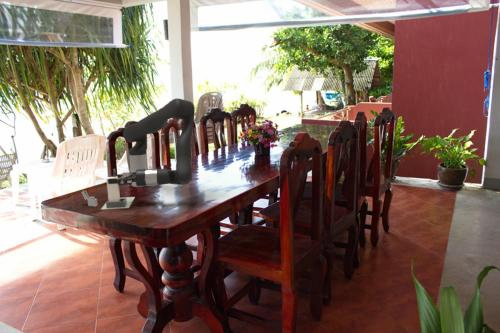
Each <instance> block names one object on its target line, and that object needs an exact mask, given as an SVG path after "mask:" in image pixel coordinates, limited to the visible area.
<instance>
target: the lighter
mask: <svg viewBox="0 0 500 333" xmlns="http://www.w3.org/2000/svg"><path fill="white" fill-rule="evenodd" d="M81 195H82V197H83V198H84V200H85V201H87V206H88V207H98V204H99V203H98V198H95V196H89V193H88V192H87V190H86V189H85V190H82V191H81Z"/></svg>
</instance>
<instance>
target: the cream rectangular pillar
mask: <svg viewBox="0 0 500 333" xmlns="http://www.w3.org/2000/svg"><path fill="white" fill-rule="evenodd" d="M112 169H113V172H112V173H113V175H114V177H112V176H110V177H109V176H108V177H106V187H107V188H106V189H107V197H108V199H107V200H109V202H120V198H121V195H120V185H118V184H108V179H116V178H118V177H116V174H117V172H116V168H112Z"/></svg>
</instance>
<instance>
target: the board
mask: <svg viewBox="0 0 500 333" xmlns="http://www.w3.org/2000/svg"><path fill="white" fill-rule="evenodd" d="M134 200H135V196H127V197H120V202H109V199H107V201H106V202H105V203H104V205H103V206H102V207H101V210H113V209H114V210H117V209H129V208H130V207H131V205H132V203H133V202H134Z"/></svg>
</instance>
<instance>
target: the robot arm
mask: <svg viewBox="0 0 500 333" xmlns="http://www.w3.org/2000/svg"><path fill="white" fill-rule="evenodd" d="M195 113H196V112H195V105H194V103H193V102H192V101H190V100H186V99H182V98H174V99H172V100H170V101H169V102H167V103H166V104H165V105H163V107H161V108H158V110H156V111H153V112H152V113H150V114H148V115H146V116H145V117H144V118H141V119H140V120H139V121H137V122H134V123H131V124H129V125H126V126H125V128H124V129H123V132H122V133H123V134H122V136H123V138H124V140H125V141H127V142H128V143H135V144H134V146H132V147H131V148H130V149H128V158H129V159H128V160H129V171H130V172H122V173H120V174H119V173H116V177H118V178H116V179H108V184H118V185H119V186H122V185H123V186H126V185H131V187H133V188H141V187H142V188H143V187H149V186H153V187H154V186H157V185H181V186H182V185H183V186H184V185H187V184H189V183H190V182H192V180H193V174H192V139H193V138H192V136H193V131H194V130H193V128H194V120H195ZM171 119H177V120H178V119H179V120H181V121H183V128H182V131H181V133H180V135H179V137H178V139H177V140H176V144H175V158H176V159H175V160H176V162H175V164H176V165H175V169H169V168H149V166H148V164H149V163H148V153H147V152H148V151H147V149H148V135H150V134H155V133H157V132H160V131H162V130H163V129H165V128H166V127H167V125H168V123H169V120H171ZM111 177H114V174H112V175H111Z"/></svg>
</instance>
